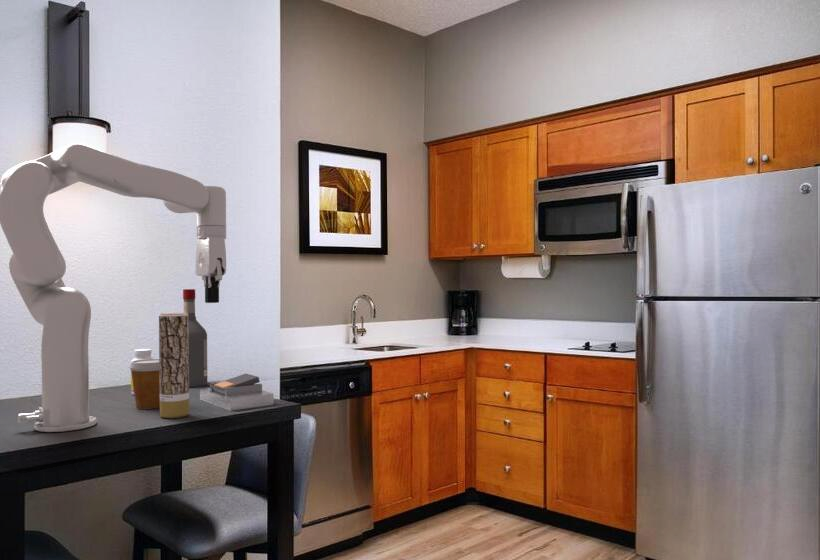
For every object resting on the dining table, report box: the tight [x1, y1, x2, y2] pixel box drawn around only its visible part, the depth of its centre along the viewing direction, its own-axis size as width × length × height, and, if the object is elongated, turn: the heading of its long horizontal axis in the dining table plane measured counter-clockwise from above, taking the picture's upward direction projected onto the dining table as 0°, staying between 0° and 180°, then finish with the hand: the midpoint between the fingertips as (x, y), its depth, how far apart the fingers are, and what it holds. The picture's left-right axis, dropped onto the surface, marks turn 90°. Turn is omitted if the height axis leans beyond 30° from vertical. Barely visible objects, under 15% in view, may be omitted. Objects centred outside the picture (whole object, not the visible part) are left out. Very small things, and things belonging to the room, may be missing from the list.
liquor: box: [182, 288, 208, 389], centre depth 209 cm, size 9×9×30 cm
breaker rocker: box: [212, 373, 260, 394], centre depth 180 cm, size 10×8×2 cm
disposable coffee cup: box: [129, 358, 160, 410], centre depth 174 cm, size 10×10×12 cm
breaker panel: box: [199, 381, 274, 412], centre depth 180 cm, size 12×20×5 cm, turn 39°
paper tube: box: [158, 312, 190, 419], centre depth 163 cm, size 7×7×25 cm
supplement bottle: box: [130, 348, 154, 396], centre depth 194 cm, size 7×7×13 cm
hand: (212, 302), depth 177 cm, fingers closed
